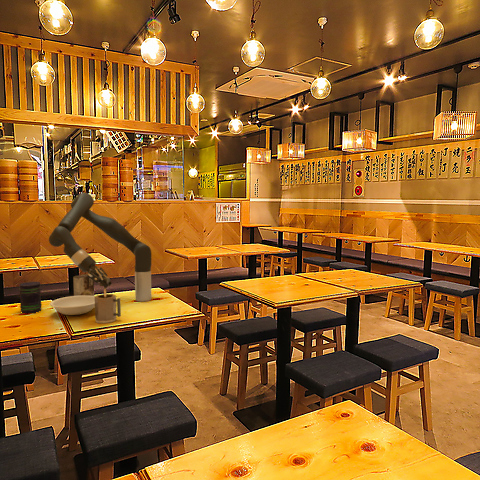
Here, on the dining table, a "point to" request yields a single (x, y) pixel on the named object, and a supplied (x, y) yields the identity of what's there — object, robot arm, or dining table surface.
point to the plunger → (107, 282)
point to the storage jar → (30, 297)
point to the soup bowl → (74, 304)
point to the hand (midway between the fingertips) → (108, 285)
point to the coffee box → (83, 285)
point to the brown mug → (107, 308)
